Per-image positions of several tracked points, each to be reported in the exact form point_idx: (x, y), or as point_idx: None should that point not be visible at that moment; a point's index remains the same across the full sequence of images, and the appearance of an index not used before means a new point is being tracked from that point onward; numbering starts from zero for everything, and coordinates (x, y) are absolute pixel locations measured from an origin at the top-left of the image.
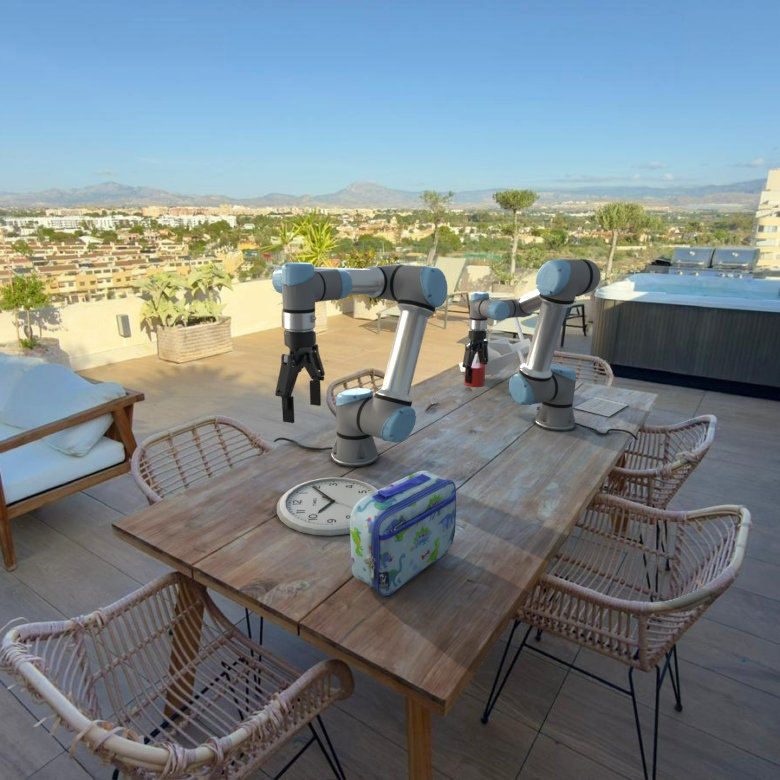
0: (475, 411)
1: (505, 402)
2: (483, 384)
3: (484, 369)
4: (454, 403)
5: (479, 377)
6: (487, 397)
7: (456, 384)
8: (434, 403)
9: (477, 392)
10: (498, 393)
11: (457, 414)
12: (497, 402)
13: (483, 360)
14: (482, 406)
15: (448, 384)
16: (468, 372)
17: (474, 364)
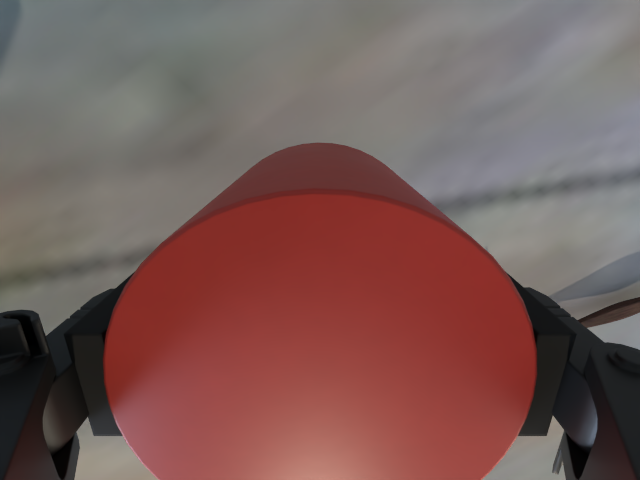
0: (495, 60)
1: (142, 10)
2: (300, 145)
3: (284, 179)
4: None
5: (392, 176)
6: (165, 185)
7: None
8: None
9: None
10: (24, 182)
11: (629, 117)
12: (196, 61)
13: (24, 431)
14: (361, 91)
15: None
16: (561, 318)
17: (265, 447)
